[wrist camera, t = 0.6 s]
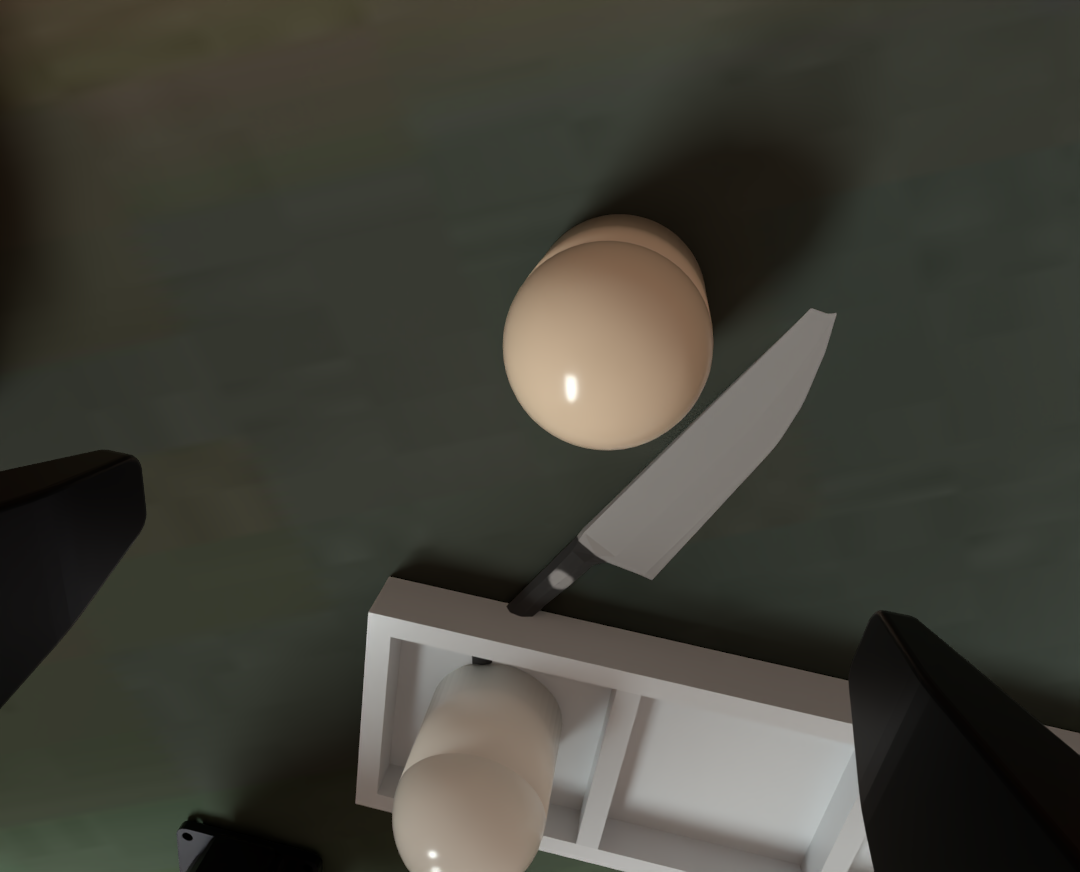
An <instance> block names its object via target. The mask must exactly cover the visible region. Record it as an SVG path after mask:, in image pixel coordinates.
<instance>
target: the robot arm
mask: <svg viewBox="0 0 1080 872" xmlns="http://www.w3.org/2000/svg"><path fill="white" fill-rule="evenodd" d="M145 520H146V503H145V494H144V485H143V476H142V468H141V464H140V462H139V460H138V459H137V458H136V457H134V456H133V455H129V454H125V453H120V452H115V451H110V450H97V451H93V452H88V453H83V454H79V455H74V456H70V457H65V458H60V459H56V460H51V461H46V462H42V463H37V464H32V465H28V466H23V467H19V468H14V469H9V470H5V471H0V709H1V707H2V706H3V705H4V704H5V703H6V702H7V701H8V700H9V698H10V697H11V696H12V695H13V694H14V693H15V692H16V690H17V689H18V688H19V687H20V686H21V685H22V684H23V683H24V681H25V680H26V679H27V678H28V677H29V676H30V675H31V673H32V672H33V671H34V670H35V669H36V668H37V667H38V666H39V664H40V663H41V662H42V661H43V660H44V659H45V658H46V657H47V655H48V654H49V653H50V652H51V651H52V650H53V649H54V647H55V646H56V645H57V644H58V643H59V642H60V641H61V639H62V638H63V637H64V636H65V635H66V633H67V632H68V631H69V630H70V629H71V627H72V626H73V625H74V623H75V622H76V621H77V620H78V618H79V617H80V616H81V614H82V613H83V612H84V610H85V609H86V608H87V606H88V605H89V603H90V602H91V601H92V599H93V598H94V596H95V595H96V594H97V592H98V591H99V590H100V588H101V587H102V585H103V584H104V583H105V581H106V580H107V578H108V577H109V576H110V574H111V573H112V571H113V570H114V569H115V567H116V566H117V564H118V563H119V562H120V560H121V559H122V558H123V556H124V555H125V553H126V552H127V551H128V549H129V548H130V546H131V545H132V544H133V542H134V541H135V539H136V538H137V537H138V535H139V534H140V532H141V530H142V528H143V526H144V523H145ZM848 683H849V695H850V706H851V716H852V726H853V737H854V747H855V758H856V768H857V778H858V788H859V796H860V804H861V811H862V816H863V822H864V827H865V832H866V837H867V841H868V846H869V851H870V855H871V860H872V865H873V869H874V872H1080V755H1079V754H1078V753H1077V752H1076V751H1074V750H1073V749H1072V748H1071V747H1070V746H1068V745H1067V744H1066V743H1065V742H1064V741H1062V740H1061V739H1060V738H1059V737H1058V736H1056V735H1055V734H1054V733H1053V732H1052V731H1050V730H1049V729H1048V728H1047V727H1046V726H1044V725H1043V724H1042V723H1041V722H1040V721H1038V720H1037V719H1036V718H1035V717H1034V716H1032V715H1031V714H1030V713H1029V712H1028V711H1026V710H1025V709H1024V708H1023V707H1022V706H1020V705H1019V704H1018V703H1017V702H1016V701H1015V700H1013V699H1012V698H1011V697H1010V696H1009V695H1007V694H1006V693H1005V692H1004V691H1003V690H1001V689H1000V688H999V687H998V686H997V685H995V684H994V683H993V682H992V681H991V680H989V679H988V678H987V677H986V676H985V675H983V674H982V673H981V672H980V671H979V670H977V669H976V668H975V667H974V666H973V665H971V664H970V663H969V662H968V661H967V660H965V659H964V658H963V657H962V656H961V655H960V654H958V653H957V652H956V651H955V650H954V649H952V648H951V647H950V646H949V645H948V644H946V643H945V642H944V641H943V640H942V639H940V638H939V637H938V636H937V635H936V634H934V633H933V632H932V631H931V630H930V629H928V628H927V627H926V626H925V625H924V624H922V623H921V622H920V621H919V620H918V619H916V618H915V617H912V616H909V615H904V614H899V613H894V612H889V611H884V610H879V611H877V612H875V613H874V614H873V615H872V617H871V618H870V620H869V622H868V624H867V627H866V629H865V631H864V634H863V636H862V639H861V641H860V644H859V646H858V648H857V651H856V653H855V656H854V658H853V660H852V663H851V666H850V670H849V681H848ZM177 844H178V856H179V867H180V872H322V860H321V858H320V857H319V856H318V855H317V854H315V853H312V852H309V851H305V850H301V849H298V848H294V847H290V846H286V845H282V844H278V843H274V842H270V841H267V840H263V839H259V838H255V837H251V836H247V835H243V834H240V833H236V832H232V831H228V830H224V829H220V828H216V827H212V826H209V825H205V824H201V823H197V822H193V821H185V822H184V823H182V825H181V826H180V828H179V829H178V831H177Z"/></svg>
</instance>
